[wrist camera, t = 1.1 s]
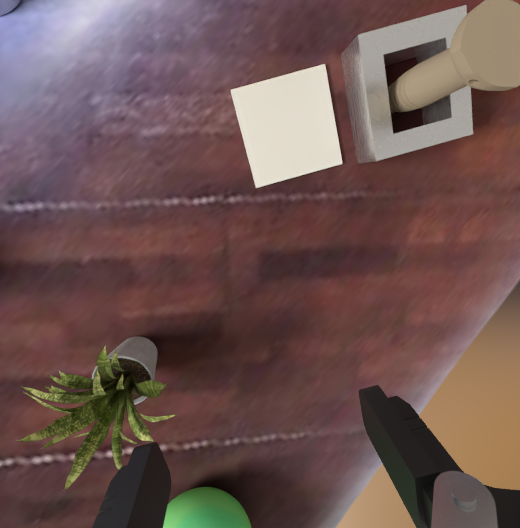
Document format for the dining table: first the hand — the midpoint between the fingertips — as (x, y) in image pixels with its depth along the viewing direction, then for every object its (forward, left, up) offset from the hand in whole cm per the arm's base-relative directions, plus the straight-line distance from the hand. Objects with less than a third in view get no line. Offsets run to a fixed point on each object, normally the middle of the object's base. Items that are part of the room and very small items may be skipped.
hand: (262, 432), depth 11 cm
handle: (-13, +23, -29) cm, 39 cm away
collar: (-13, +23, -29) cm, 39 cm away
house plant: (+9, -16, -29) cm, 34 cm away
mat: (-13, +10, -29) cm, 33 cm away
